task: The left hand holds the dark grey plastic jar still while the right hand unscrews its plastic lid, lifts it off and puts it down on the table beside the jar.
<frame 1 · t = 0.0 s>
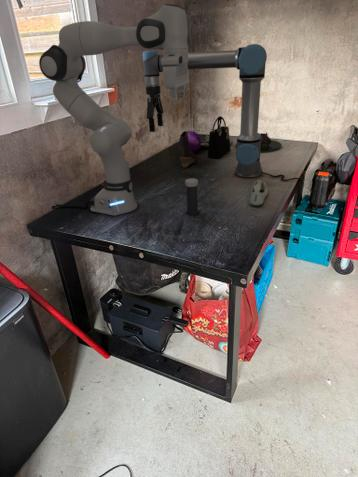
left hand: (178, 99, 126), 48 cm above the table, tool pointing down, fingers open, 8 cm apart
right hand: (156, 128, 177), 28 cm above the table, tool pointing down, fingers open, 13 cm apart
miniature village: (256, 146, 240), on the table
decorative orb: (190, 153, 234), on the table
handbag: (219, 154, 227), on the table
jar: (192, 212, 149), on the table
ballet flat: (258, 197, 160), on the table
boot: (188, 162, 214), on the table
lid: (191, 181, 142), point 15 cm above the table, screwed on, not yet turned
pair of gloves: (209, 144, 251), on the table
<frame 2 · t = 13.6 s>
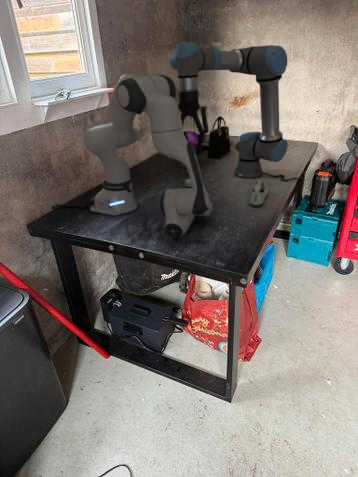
left hand: (192, 199, 147), 6 cm above the table, tool horizontal, fingers closed on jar, 4 cm apart
right hand: (190, 150, 135), 28 cm above the table, tool pointing down, fingers open, 7 cm apart
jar: (192, 212, 149), on the table, touching left hand
everything else where it was.
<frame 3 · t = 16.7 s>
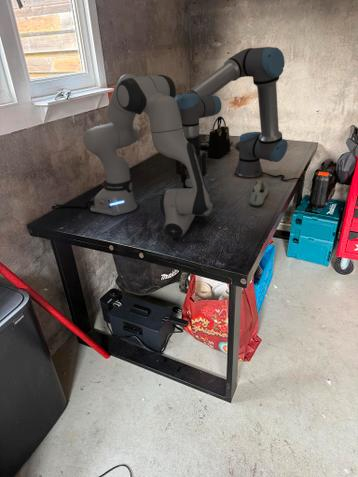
left hand: (192, 199, 147), 6 cm above the table, tool horizontal, fingers closed on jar, 4 cm apart
right hand: (191, 190, 144), 11 cm above the table, tool pointing down, fingers closed on lid, 5 cm apart
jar: (192, 212, 149), on the table, touching left hand
lid: (191, 181, 142), point 15 cm above the table, screwed on, not yet turned, touching right hand
everything else where it was.
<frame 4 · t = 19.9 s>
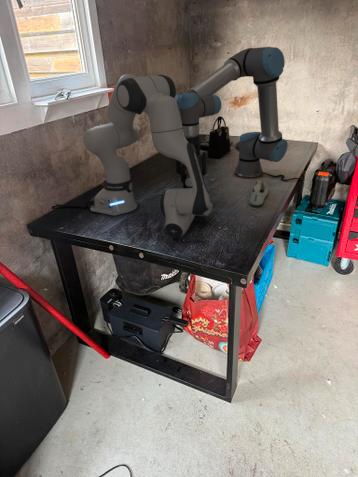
left hand: (192, 199, 147), 6 cm above the table, tool horizontal, fingers closed on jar, 4 cm apart
right hand: (191, 189, 143), 11 cm above the table, tool pointing down, fingers closed on lid, 5 cm apart
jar: (192, 212, 149), on the table, touching left hand
lid: (191, 181, 142), point 15 cm above the table, turned 114° so far, risen 0.2 cm, still on its thread, touching right hand
everything else where it was.
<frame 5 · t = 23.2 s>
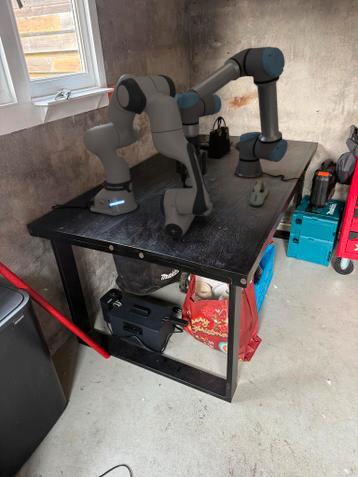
left hand: (192, 199, 147), 6 cm above the table, tool horizontal, fingers closed on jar, 4 cm apart
right hand: (191, 189, 143), 11 cm above the table, tool pointing down, fingers closed on lid, 5 cm apart
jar: (192, 212, 149), on the table, touching left hand
lid: (191, 180, 141), point 15 cm above the table, turned 228° so far, risen 0.4 cm, still on its thread, touching right hand
everything else where it was.
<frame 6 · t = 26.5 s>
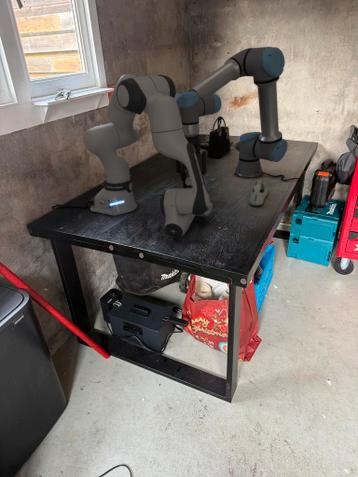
left hand: (192, 199, 147), 6 cm above the table, tool horizontal, fingers closed on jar, 4 cm apart
right hand: (191, 188, 143), 12 cm above the table, tool pointing down, fingers closed on lid, 5 cm apart
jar: (192, 212, 149), on the table, touching left hand
lid: (191, 180, 141), point 16 cm above the table, turned 342° so far, risen 0.6 cm, still on its thread, touching right hand
everything else where it was.
when the right hand's fingers open (0 cm above the table, at t = 35.2 s): lid drops 3 cm, point 1 cm above the table.
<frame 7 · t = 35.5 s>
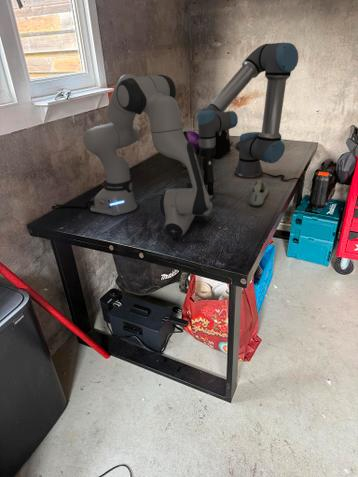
left hand: (192, 199, 147), 6 cm above the table, tool horizontal, fingers closed on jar, 4 cm apart
right hand: (208, 189, 162), 4 cm above the table, tool pointing down, fingers open, 13 cm apart
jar: (192, 212, 149), on the table, touching left hand
lid: (207, 194, 163), point 1 cm above the table, off its thread
everything else where it was.
when the left hand's fingers open (6 cm above the table, at t = 35.9 s): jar stays where it is, on the table.
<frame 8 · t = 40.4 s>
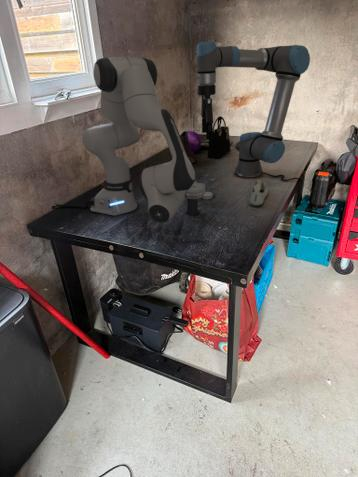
left hand: (183, 181, 129), 19 cm above the table, tool horizontal, fingers open, 8 cm apart
right hand: (207, 136, 149), 30 cm above the table, tool pointing down, fingers open, 13 cm apart
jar: (192, 212, 149), on the table
everything else where it was.
at the end: lid came off its thread; lid point 1.4 cm above the table; the left hand is holding nothing; the right hand is holding nothing; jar tilted 0°; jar moved 0.0 cm from its start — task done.
